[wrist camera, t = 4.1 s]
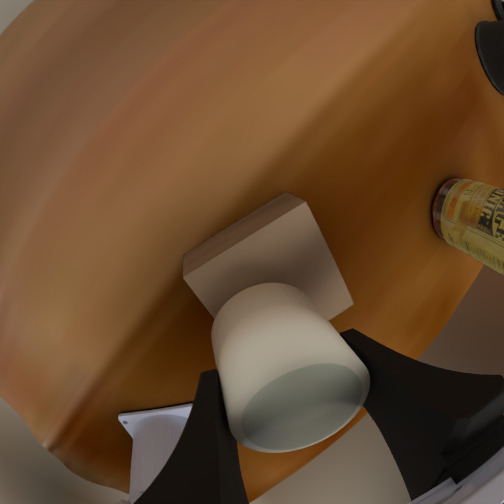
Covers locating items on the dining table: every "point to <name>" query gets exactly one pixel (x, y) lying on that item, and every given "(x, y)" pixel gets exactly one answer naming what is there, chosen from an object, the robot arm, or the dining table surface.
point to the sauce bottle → (472, 219)
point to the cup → (284, 370)
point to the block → (268, 258)
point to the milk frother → (492, 46)
